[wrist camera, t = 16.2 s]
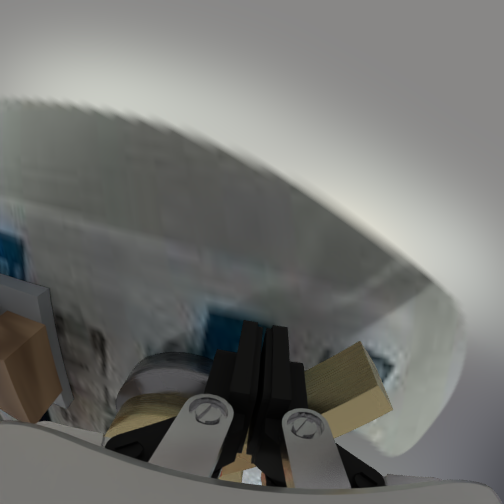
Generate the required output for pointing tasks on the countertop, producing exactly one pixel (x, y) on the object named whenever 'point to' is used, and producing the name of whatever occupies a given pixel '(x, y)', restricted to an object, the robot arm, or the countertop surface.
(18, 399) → the tan wooden bar
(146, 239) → the countertop surface
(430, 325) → the countertop surface
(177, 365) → the base
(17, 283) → the rack
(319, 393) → the gold lever handle
